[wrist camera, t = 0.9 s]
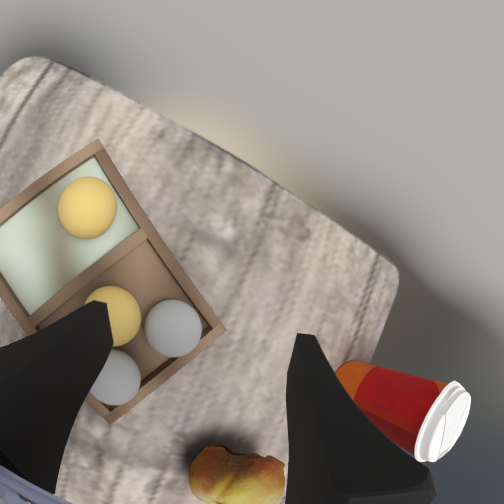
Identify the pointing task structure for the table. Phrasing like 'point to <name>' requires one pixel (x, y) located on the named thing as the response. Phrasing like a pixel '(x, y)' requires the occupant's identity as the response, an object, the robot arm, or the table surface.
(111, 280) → the sorting board
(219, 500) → the fruit
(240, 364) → the table surface
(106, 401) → the grey ball
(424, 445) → the paper cup
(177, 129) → the table surface
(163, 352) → the grey ball
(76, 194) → the ochre ball
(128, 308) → the ochre ball
